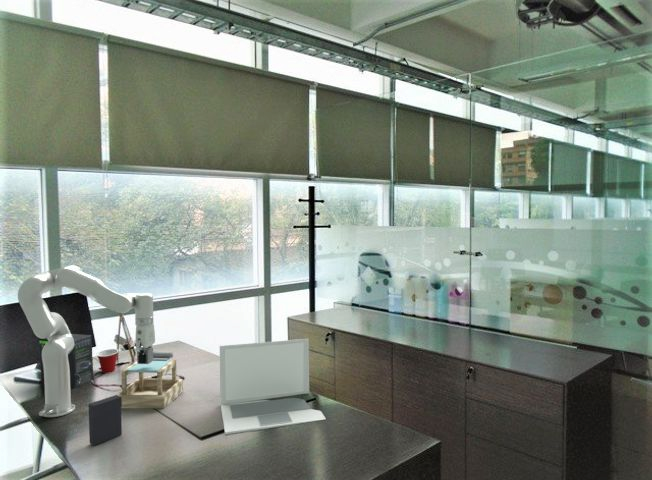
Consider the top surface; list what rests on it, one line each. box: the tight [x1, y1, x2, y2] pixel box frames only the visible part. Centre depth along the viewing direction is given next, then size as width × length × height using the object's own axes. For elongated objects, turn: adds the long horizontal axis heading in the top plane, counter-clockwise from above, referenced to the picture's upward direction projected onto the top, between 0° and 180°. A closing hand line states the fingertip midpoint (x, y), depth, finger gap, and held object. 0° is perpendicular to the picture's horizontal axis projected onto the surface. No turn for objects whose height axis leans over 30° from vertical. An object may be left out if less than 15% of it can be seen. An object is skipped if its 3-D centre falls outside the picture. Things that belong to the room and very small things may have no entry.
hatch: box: [127, 351, 174, 374], centre depth 215 cm, size 19×14×4 cm
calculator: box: [87, 394, 123, 446], centre depth 175 cm, size 11×4×15 cm, turn 143°
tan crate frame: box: [115, 359, 184, 409], centre depth 213 cm, size 22×22×16 cm
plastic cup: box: [95, 348, 119, 374], centre depth 249 cm, size 11×11×12 cm
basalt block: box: [136, 347, 154, 364], centre depth 208 cm, size 5×5×6 cm
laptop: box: [219, 338, 326, 435], centre depth 196 cm, size 40×29×28 cm
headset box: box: [38, 333, 94, 389], centre depth 235 cm, size 22×12×26 cm, turn 71°
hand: (145, 360), depth 208 cm, fingers closed on basalt block, 5 cm apart
